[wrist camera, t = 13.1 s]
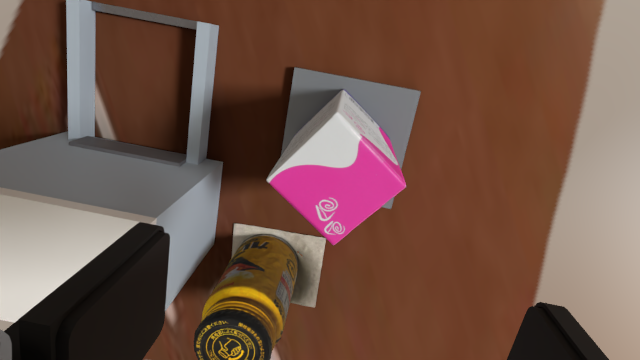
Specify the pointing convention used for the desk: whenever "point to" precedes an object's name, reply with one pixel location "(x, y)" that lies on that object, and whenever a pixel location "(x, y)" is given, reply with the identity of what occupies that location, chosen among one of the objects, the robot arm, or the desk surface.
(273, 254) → the condiment
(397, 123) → the coaster
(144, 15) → the bar
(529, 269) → the desk surface
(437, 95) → the desk surface
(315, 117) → the supplement box
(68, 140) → the dispenser
